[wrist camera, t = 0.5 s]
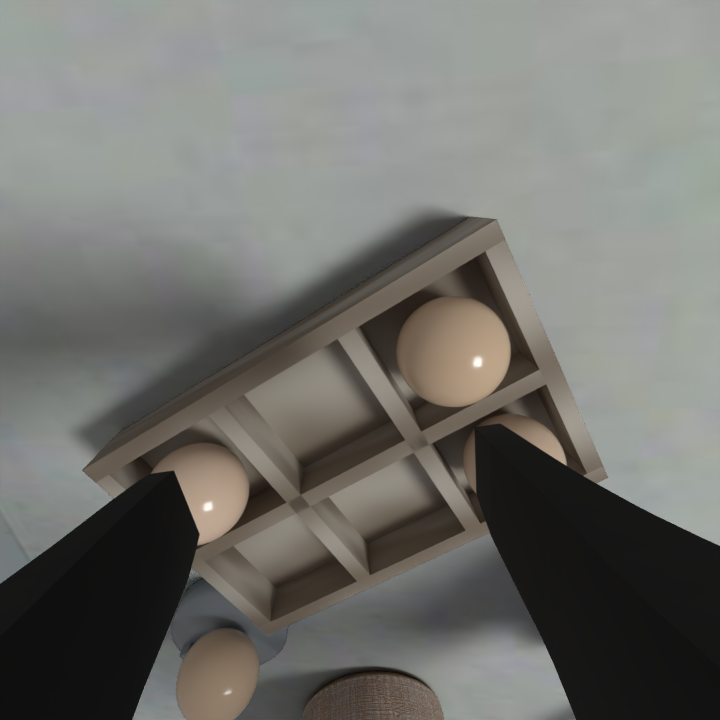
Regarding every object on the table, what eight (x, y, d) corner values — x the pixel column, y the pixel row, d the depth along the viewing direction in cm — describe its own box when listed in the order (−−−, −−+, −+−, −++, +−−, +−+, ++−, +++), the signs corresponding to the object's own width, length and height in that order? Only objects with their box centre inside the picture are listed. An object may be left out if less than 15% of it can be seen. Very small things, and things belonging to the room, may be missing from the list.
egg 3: (549, 445, 20) (603, 508, 16) (473, 483, 21) (505, 552, 16) (518, 381, 18) (568, 432, 14) (436, 424, 19) (462, 484, 15)
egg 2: (501, 348, 18) (550, 392, 14) (418, 394, 18) (440, 448, 14) (461, 266, 16) (502, 287, 12) (372, 319, 17) (381, 356, 13)
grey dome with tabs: (310, 619, 26) (308, 653, 24) (227, 657, 27) (218, 693, 25) (245, 556, 23) (237, 588, 21) (157, 601, 24) (141, 635, 22)
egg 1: (275, 471, 20) (258, 541, 16) (207, 508, 20) (175, 584, 16) (220, 409, 18) (185, 468, 14) (150, 450, 19) (97, 518, 15)
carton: (573, 441, 21) (608, 477, 18) (276, 585, 24) (267, 634, 21) (470, 216, 16) (496, 219, 14) (118, 432, 20) (81, 470, 17)
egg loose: (279, 639, 24) (267, 728, 20) (224, 665, 25) (200, 756, 21) (235, 600, 22) (212, 688, 18) (177, 628, 23) (142, 719, 19)
